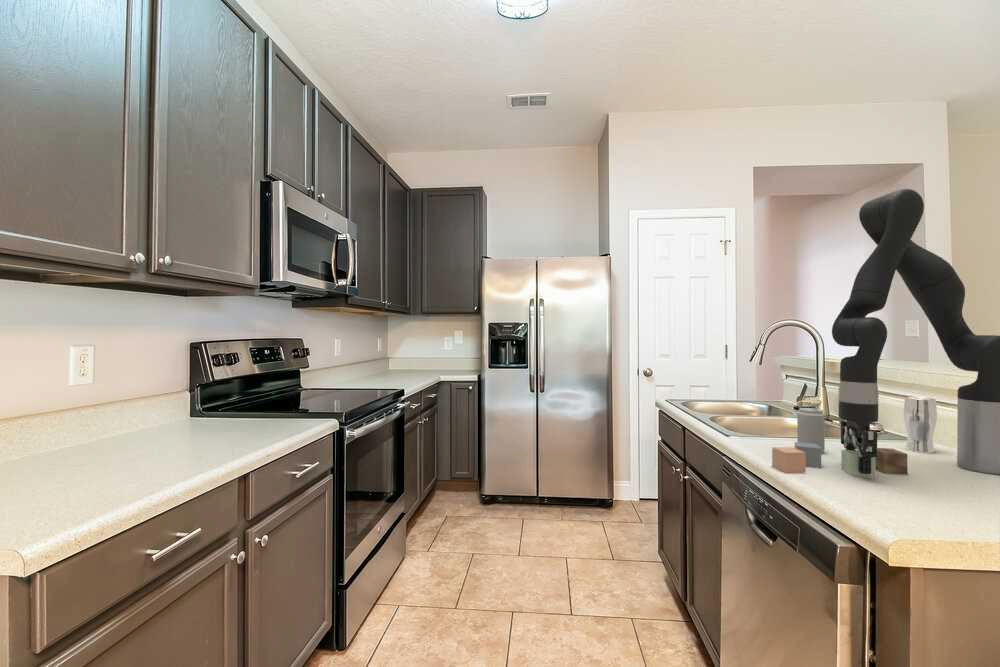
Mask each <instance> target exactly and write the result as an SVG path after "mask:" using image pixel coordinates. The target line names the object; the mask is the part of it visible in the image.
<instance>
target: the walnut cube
mask: <svg viewBox="0 0 1000 667" xmlns="http://www.w3.org/2000/svg"><path fill="white" fill-rule="evenodd" d="M875 471H878V472H880V473H882V474H884V475H885V474H889V475H908V453H906V452H902V451H900V450H897V449H895V448H891V447H890V448H888V447H887V448H885V447H877V457H876V458H875Z"/></svg>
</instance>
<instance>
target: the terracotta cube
mask: <svg viewBox="0 0 1000 667" xmlns="http://www.w3.org/2000/svg"><path fill="white" fill-rule="evenodd" d="M771 449H772V450H771V452H772V453H771V454H772V455H771V457H772V458H771V459H772V461H771V463H772V464H771V467H772V468H774V469H776V470H778V471H781V472H782V473H784V474H805V473H804V472H806V469H807V468H806V467H807V466H806V452H803V451H800V450H798V449H795V447H793V446H792V447H791V446H787V447H786V446H778V447H777V446H774V447H773V446H772V448H771Z"/></svg>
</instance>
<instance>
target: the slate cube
mask: <svg viewBox="0 0 1000 667" xmlns="http://www.w3.org/2000/svg"><path fill="white" fill-rule="evenodd" d="M794 448H795V449H798V450H800V451H803V452H806V467H807V466H809V467H808V468H816V467H817V468H818V469H822V453H821V448H820V446H819V445H818V444H812V443H801V442H797V441H794Z"/></svg>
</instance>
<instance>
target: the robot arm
mask: <svg viewBox="0 0 1000 667" xmlns="http://www.w3.org/2000/svg"><path fill="white" fill-rule="evenodd" d="M924 210H925V203H924V200H923V198H922V196H921V195H920V193H918V191H915V189H911V188H904V189H898V190H896V191H892V192H890V193H886V194H884V195H881V196H878V197H876V198H873V199H871V200H868V201H866V202H865V203H864V204H862V206H861V207H860V209H859V212H858V218H859V222H860V223H861V227H862V228H863V230H865V233H866V234H867V235H868V236H869V238H871V240H872V241H873V242H874V243H875V245H877V246H876V247H874V248H875V249H873V252H871V254H870V255H869V256H868V258H867V259H866V260H865V262H864V263H863V264H862V265H861V266H860V268H859V270H858V272H857V273H856V276H855V279H854V282H853V285H852V288H851V290H850V291H851V292H850V294H849V298H848V301H847V302H846V303H845V305H844V306H843V308H842V309H841V310H840V312H839V314H838V315H837V317H836V318H835V319H834V322H833V324H832V328H831V336H832V339H833V341H834V342H835V343H836V344H837V345H840V346H843V347H858V349H857V352H856V353H855V354H854V355H850V356H846V357H843V358H842V359H841V360H840V363H839V386H838V418H839V419H841V421H840V444H841V445H843V447H844V450H853V451H858V455H859V465H858V471H859V472H860V473H862V474H871V458H873V457H877V448H878V436H879V435H878V432H877V431H876V430H875V431H873V430H871V425H870V424H872V423H877V422H878V421H879V387H878V365H879V362H880V359H881V356H882V353H883V350H884V347H885V344H886V343H887V342H886V341H887V338H888V329H887V327H886V326H887V325H886V324H885V322H884V321H883V320H881V319H880V318H878V317H876V316H875V317H873V316H869V317H867V315H869V314H872V313H875V312H878V311H881V310H882V309H884V308H885V307H886V303H887V301H888V297H889V294H890V291H891V287H892V284H893V279H894V276H895V273H896V272H897V273H898V275H899V277H901V279H902V281H903V282H904V284H905V286H906V287H907V289H908V291H909V292H910V294H911V295H912V297H913V298H914V299H915V301H916V303H917V304H918V305H919V306H920V307H921V309H922V311H923V312H924V315H925V316H926V318H927V319H928V321H929V323H930V325H931V326H932V328H933V329H934V331H935V333H936V335H937V337H938V340H939V341H940V344H941V345H942V348H943V350H944V352H945V353H946V355H947V357H948V360H949V361H950V362H951V364H952V365H954V366H955V367H956V368H957V369H960V370H963V371H965V372H977V375H976V379H975V381H973V382H971V383H969V384H965V385H961V386H959V387H958V388H957V406H956V407H957V429H956V430H957V431H956V432H957V437H956V438H957V440H956V441H957V443H956V444H957V446H956V448H957V451H956V462H957V463H956V464H957V466H958V467H960V468H961V469H962V468H963V469H966V470H970V471H974V472H979V473H985V474H993V475H1000V335H994V334H993V335H991V334H990V335H988V334H987V335H982V334H979V335H978V334H975V333H974V332H973V331H972V329H970V327H969V326H968V324H967V323H966V321H965V319H964V316H963V308H964V304H965V298H966V287H965V285H964V283H963V281H962V279H961V278H960V277H959V275H958V274H957V272H956V270H955V269H954V267H953V265H951V263H949V262H948V261H947V260H945V259H944V258H943V257H941V256H939V255H938V254H935V252H931V251H930V250H928V249H926V248H924V247H922V246H920V245H918V244H917V243H915V242H914V241H913V240H912V238H913V236H914V233H915V232H916V230H917V228H918V226H919V225H920V224H919V223H920V222H921V220H922V216H923V214H924Z"/></svg>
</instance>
